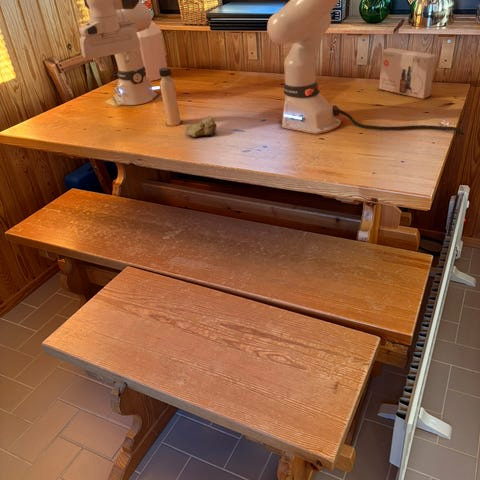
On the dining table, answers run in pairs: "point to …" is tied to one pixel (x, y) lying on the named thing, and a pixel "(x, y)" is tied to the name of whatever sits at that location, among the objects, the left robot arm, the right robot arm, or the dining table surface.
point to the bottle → (170, 101)
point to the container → (152, 51)
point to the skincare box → (407, 72)
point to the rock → (202, 127)
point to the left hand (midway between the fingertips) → (115, 67)
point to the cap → (165, 72)
